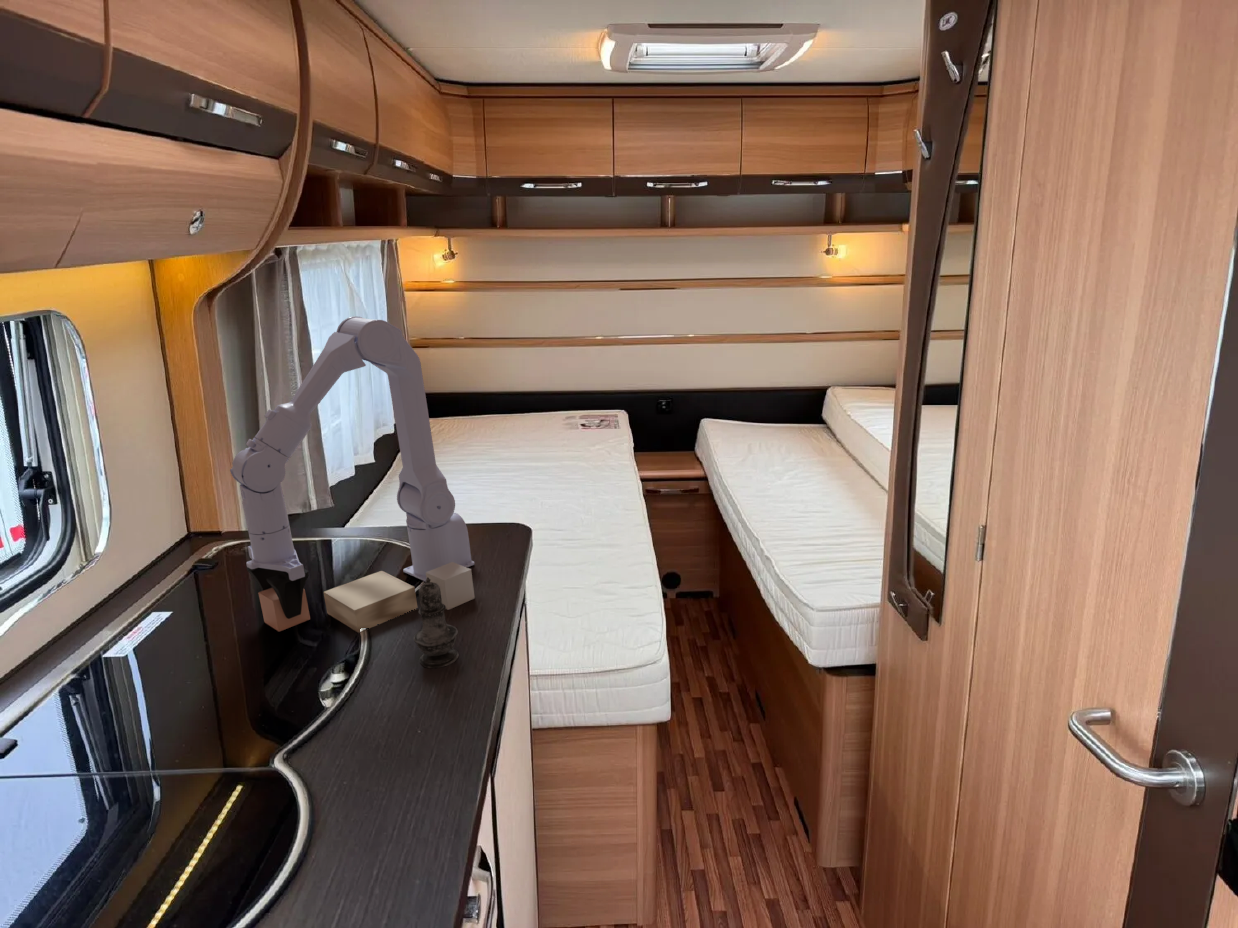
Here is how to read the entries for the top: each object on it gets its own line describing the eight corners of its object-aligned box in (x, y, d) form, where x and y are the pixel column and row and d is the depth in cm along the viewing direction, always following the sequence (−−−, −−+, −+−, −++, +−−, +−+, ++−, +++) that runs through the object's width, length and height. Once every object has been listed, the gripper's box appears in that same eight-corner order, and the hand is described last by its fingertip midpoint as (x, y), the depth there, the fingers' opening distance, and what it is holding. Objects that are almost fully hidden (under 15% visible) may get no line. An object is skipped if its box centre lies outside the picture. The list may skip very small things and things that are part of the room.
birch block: (385, 593, 140) (381, 570, 139) (418, 610, 133) (414, 586, 132) (327, 615, 134) (323, 591, 133) (358, 634, 127) (354, 610, 126)
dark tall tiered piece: (408, 664, 117) (395, 583, 113) (436, 644, 122) (424, 565, 118) (442, 672, 114) (430, 589, 110) (469, 651, 119) (459, 571, 115)
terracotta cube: (295, 610, 136) (289, 581, 134) (310, 619, 132) (304, 589, 131) (264, 622, 132) (258, 592, 131) (278, 631, 129) (272, 601, 127)
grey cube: (456, 590, 139) (452, 561, 137) (474, 598, 135) (471, 569, 134) (429, 601, 135) (425, 572, 134) (448, 610, 132) (444, 580, 131)
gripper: (222, 525, 130) (239, 607, 134) (263, 547, 120) (281, 634, 124) (267, 512, 135) (283, 591, 139) (311, 531, 125) (326, 616, 129)
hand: (285, 610), depth 132 cm, fingers closed on terracotta cube, 5 cm apart
